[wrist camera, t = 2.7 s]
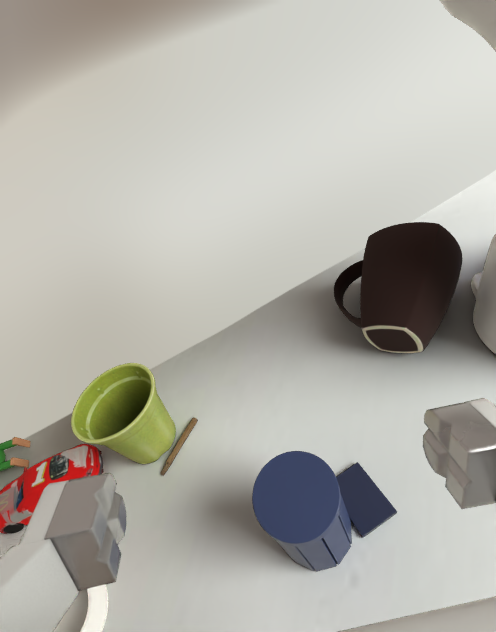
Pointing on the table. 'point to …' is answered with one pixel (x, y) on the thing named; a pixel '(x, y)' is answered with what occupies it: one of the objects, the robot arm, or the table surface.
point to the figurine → (3, 465)
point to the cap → (316, 507)
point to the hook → (96, 609)
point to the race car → (44, 483)
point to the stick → (179, 445)
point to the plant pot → (124, 414)
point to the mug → (403, 285)
